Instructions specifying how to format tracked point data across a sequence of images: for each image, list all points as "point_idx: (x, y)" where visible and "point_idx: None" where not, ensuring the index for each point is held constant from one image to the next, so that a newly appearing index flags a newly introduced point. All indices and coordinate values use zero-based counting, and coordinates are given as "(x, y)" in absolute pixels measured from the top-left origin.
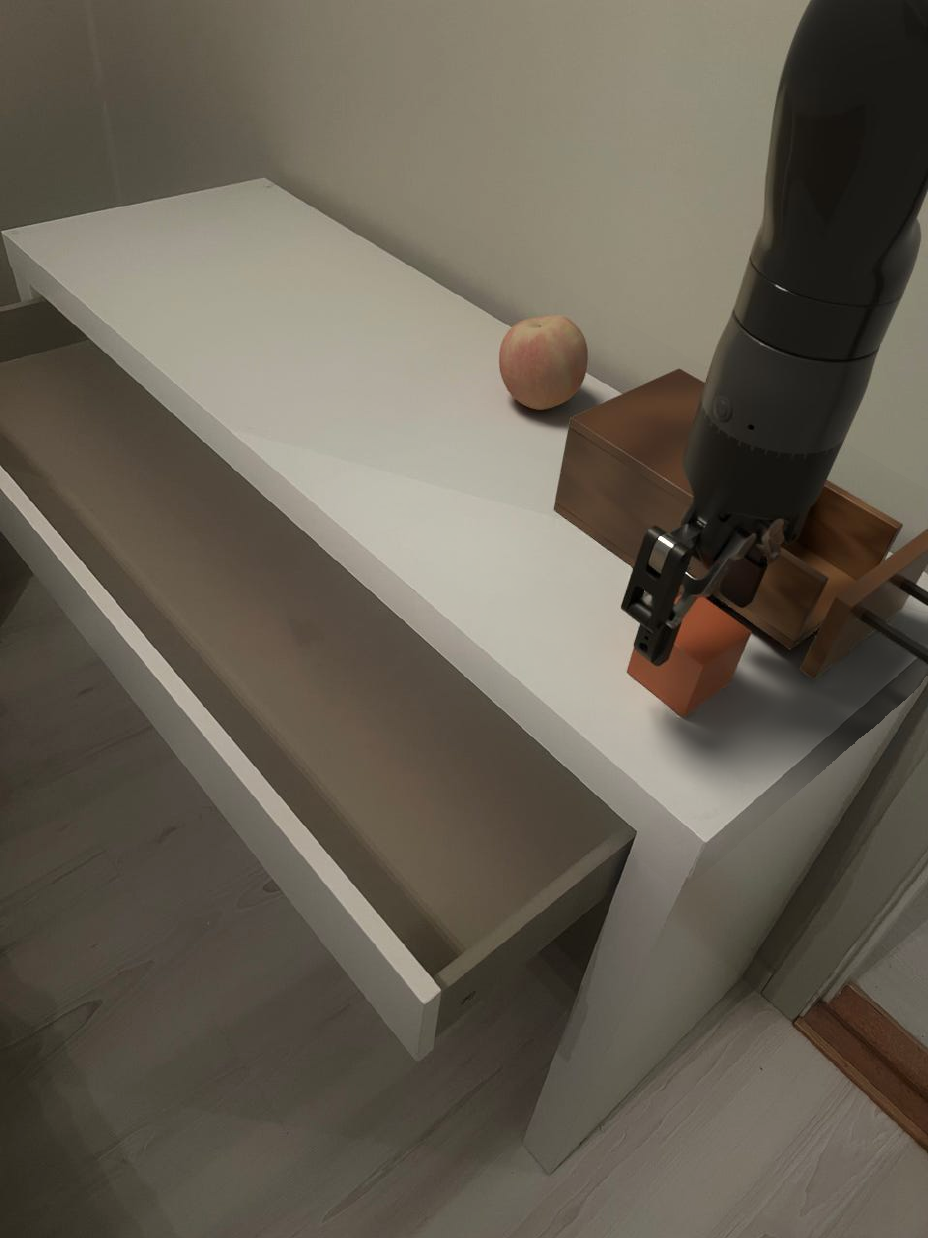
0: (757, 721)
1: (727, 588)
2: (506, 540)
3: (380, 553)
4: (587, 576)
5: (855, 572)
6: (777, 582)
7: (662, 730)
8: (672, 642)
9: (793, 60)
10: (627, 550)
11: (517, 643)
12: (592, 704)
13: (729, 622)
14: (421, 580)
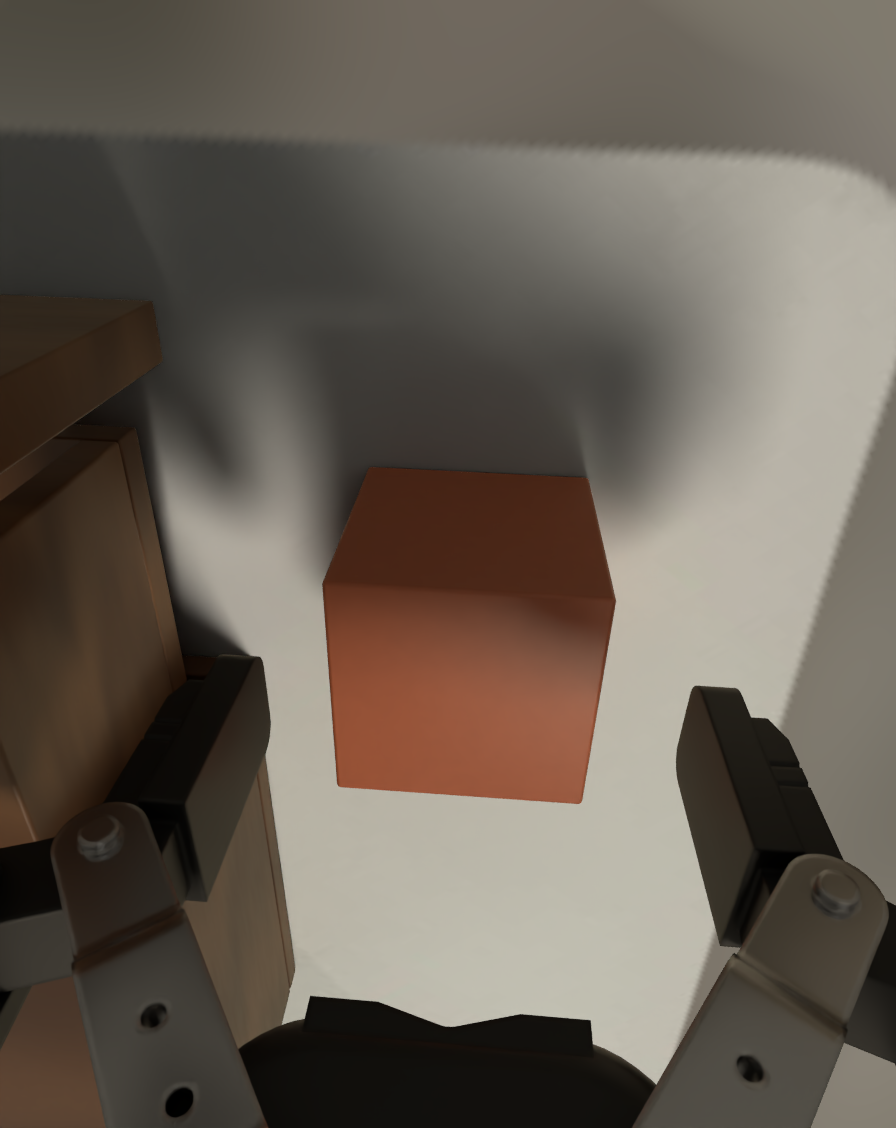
0: (422, 325)
1: (257, 739)
2: (447, 970)
3: (667, 1054)
4: (385, 847)
5: None
6: (62, 655)
7: (668, 488)
8: (740, 762)
9: None
10: (266, 858)
11: (678, 828)
12: (720, 644)
13: (357, 650)
14: (670, 994)
